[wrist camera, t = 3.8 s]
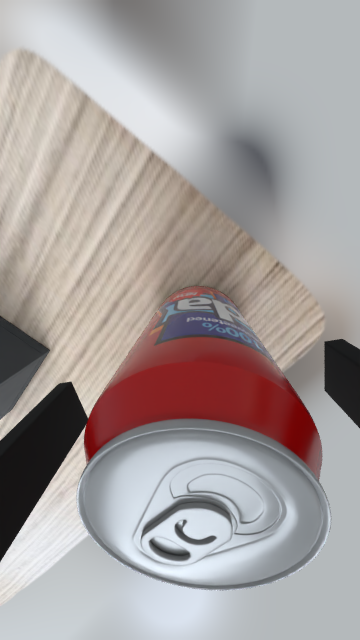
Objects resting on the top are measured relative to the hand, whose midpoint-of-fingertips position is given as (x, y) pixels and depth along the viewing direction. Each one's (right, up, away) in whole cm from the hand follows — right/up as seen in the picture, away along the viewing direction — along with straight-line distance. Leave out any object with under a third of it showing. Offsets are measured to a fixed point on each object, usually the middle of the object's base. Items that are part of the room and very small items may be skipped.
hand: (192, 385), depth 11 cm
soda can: (+1, +3, +9) cm, 9 cm away
